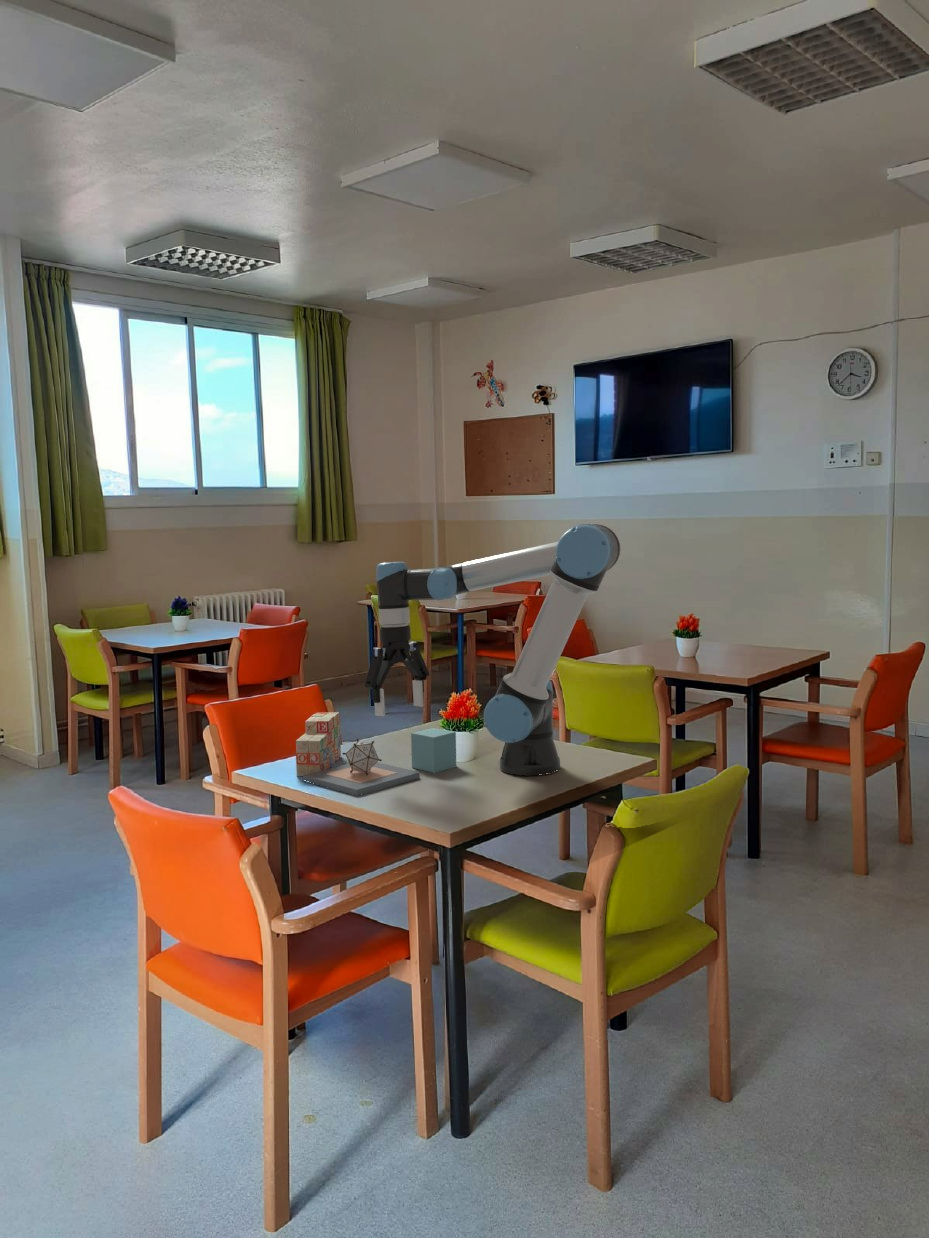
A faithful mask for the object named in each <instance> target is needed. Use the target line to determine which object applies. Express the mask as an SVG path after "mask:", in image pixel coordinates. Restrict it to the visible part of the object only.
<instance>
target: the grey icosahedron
mask: <svg viewBox="0 0 929 1238" xmlns="http://www.w3.org/2000/svg"><path fill="white" fill-rule="evenodd" d="M373 744H375V740H373V741H371V742H365V741H360V740H359V739H358V738H356V743H353V745H352V746H351V747H350V749H349V750H348V751H346V752H341V755H345V756H346V759H347V761H348V764H350V767H351V769H352V770H351V771H350V773H352V772H353V771H360V772H366V775H368V773H367V772H368V771H369V770H370V769H371V768H372V767H373V766H374V765H375V764H376V763H377V762H378V763H379V762H381V761H383V759H381V758H379V756H378V754H377V751H376V749H375V746H374V745H373Z"/></svg>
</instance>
